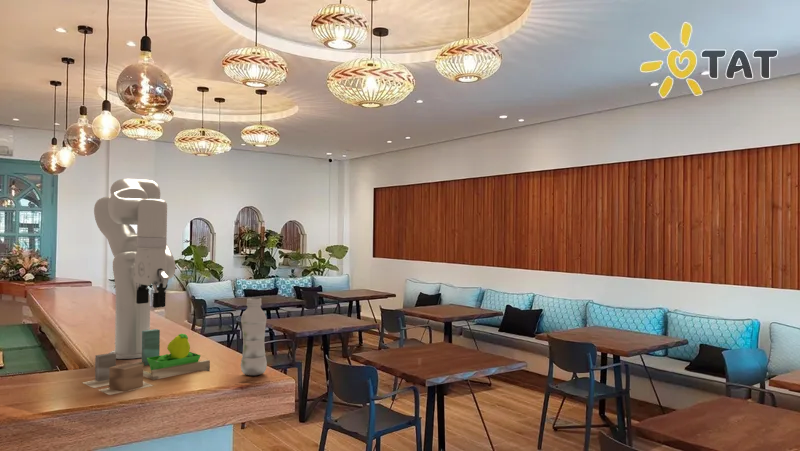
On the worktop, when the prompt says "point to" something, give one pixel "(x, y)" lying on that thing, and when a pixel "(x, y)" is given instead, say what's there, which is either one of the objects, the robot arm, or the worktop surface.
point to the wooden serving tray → (153, 349)
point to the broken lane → (109, 391)
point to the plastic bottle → (253, 338)
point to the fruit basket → (174, 354)
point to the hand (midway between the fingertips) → (150, 305)
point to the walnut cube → (125, 377)
